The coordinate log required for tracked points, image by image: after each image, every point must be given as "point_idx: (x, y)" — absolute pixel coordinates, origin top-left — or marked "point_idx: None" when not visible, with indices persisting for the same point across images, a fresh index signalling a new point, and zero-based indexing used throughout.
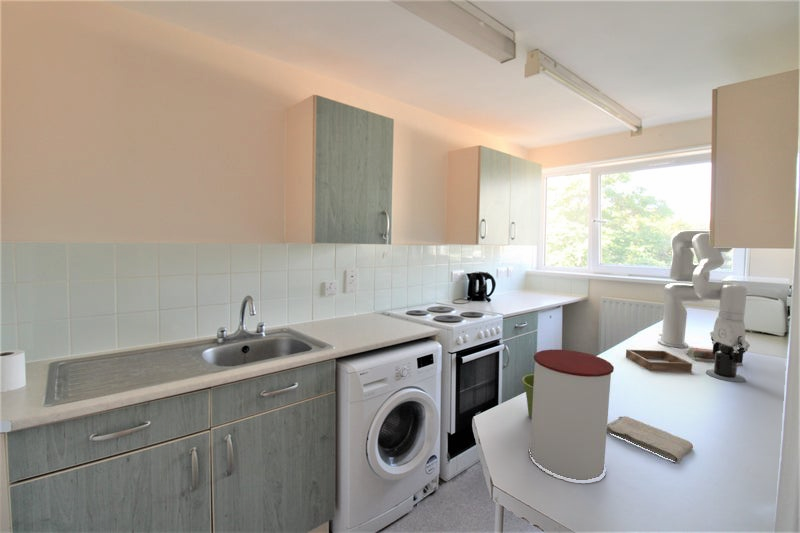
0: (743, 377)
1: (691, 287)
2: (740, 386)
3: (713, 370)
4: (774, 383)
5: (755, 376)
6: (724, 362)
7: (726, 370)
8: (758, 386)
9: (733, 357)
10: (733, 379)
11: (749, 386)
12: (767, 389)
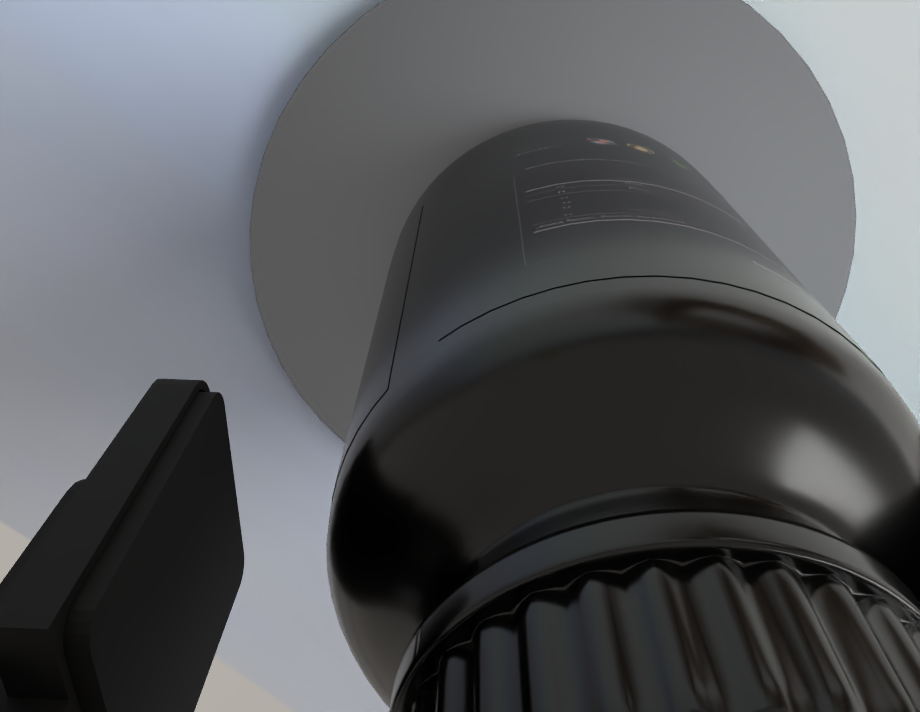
0: None
1: None
2: (33, 127)
3: (797, 253)
4: (306, 696)
5: None
6: (431, 280)
7: (408, 238)
8: None
9: (124, 469)
10: (314, 241)
11: (85, 293)
12: (27, 456)
